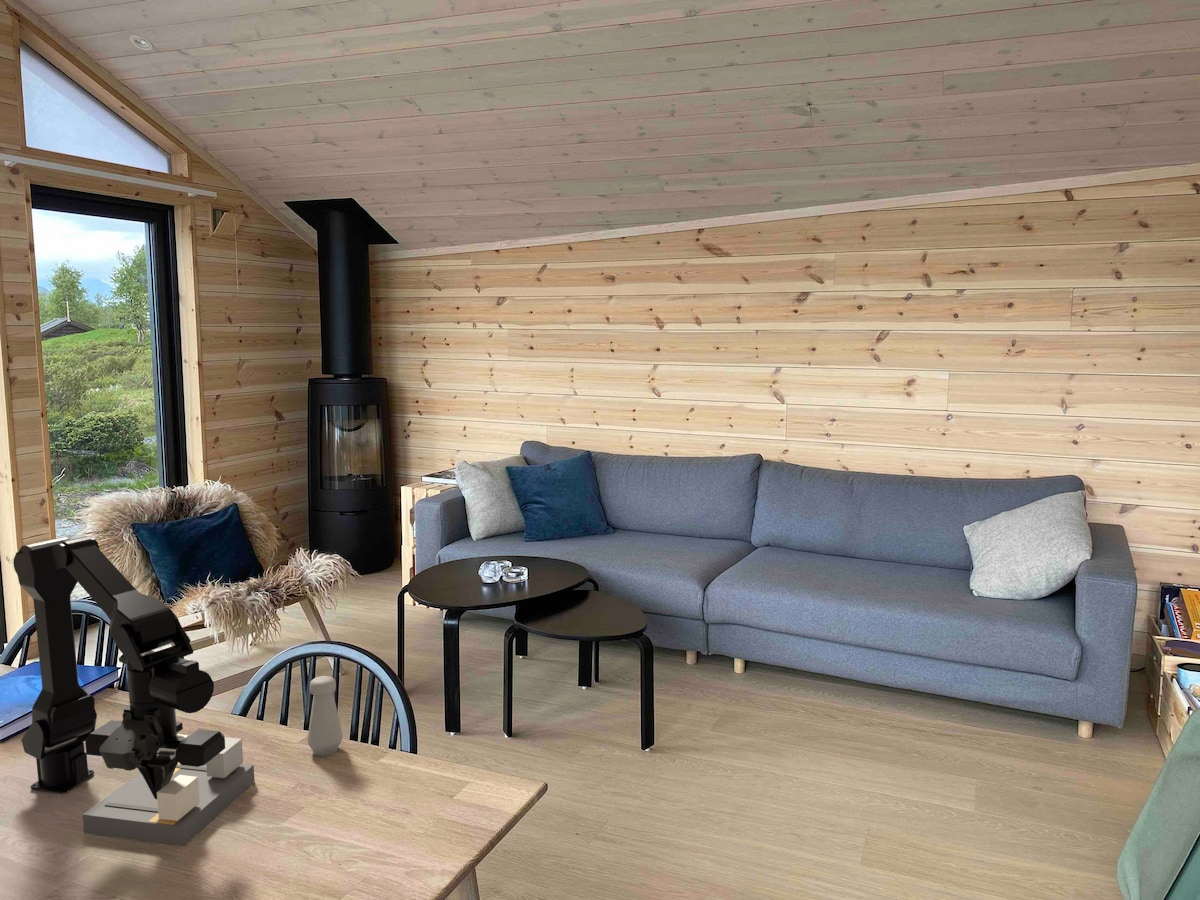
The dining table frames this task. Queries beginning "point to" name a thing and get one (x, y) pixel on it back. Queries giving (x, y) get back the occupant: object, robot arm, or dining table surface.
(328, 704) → the salt shaker
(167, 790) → the cream fader
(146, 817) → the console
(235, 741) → the block
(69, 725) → the robot arm
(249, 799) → the dining table surface
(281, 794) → the dining table surface
